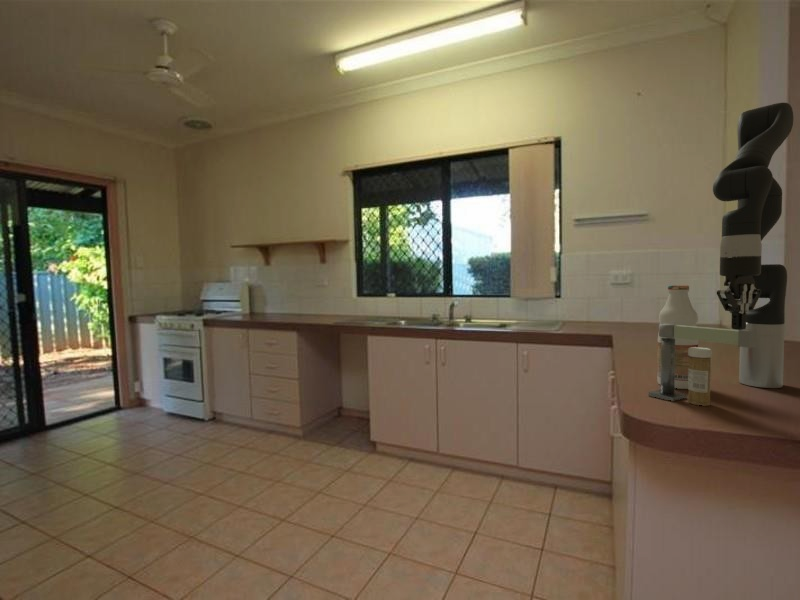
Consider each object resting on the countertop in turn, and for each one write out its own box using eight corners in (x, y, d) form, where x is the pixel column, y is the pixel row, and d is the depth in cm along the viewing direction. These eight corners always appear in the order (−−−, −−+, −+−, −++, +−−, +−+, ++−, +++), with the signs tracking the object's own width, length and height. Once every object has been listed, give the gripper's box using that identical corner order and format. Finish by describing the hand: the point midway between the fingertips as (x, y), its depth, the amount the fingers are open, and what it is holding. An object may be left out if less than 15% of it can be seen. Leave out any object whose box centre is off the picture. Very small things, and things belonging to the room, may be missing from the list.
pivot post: (661, 392, 111) (662, 336, 110) (686, 397, 105) (687, 338, 105) (648, 395, 108) (649, 338, 107) (673, 401, 103) (674, 341, 102)
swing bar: (655, 337, 107) (655, 323, 106) (664, 336, 109) (664, 322, 108) (748, 347, 90) (748, 331, 89) (757, 346, 92) (757, 329, 91)
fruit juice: (649, 383, 120) (650, 285, 119) (673, 379, 123) (674, 284, 122) (680, 391, 111) (682, 286, 110) (705, 387, 115) (707, 285, 113)
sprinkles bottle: (713, 404, 100) (715, 348, 99) (705, 407, 98) (706, 350, 97) (692, 399, 104) (693, 345, 103) (683, 403, 101) (684, 348, 101)
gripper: (740, 256, 104) (738, 326, 104) (704, 256, 99) (703, 329, 100) (776, 254, 97) (774, 329, 97) (740, 254, 92) (738, 332, 93)
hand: (738, 329), depth 99 cm, fingers closed
